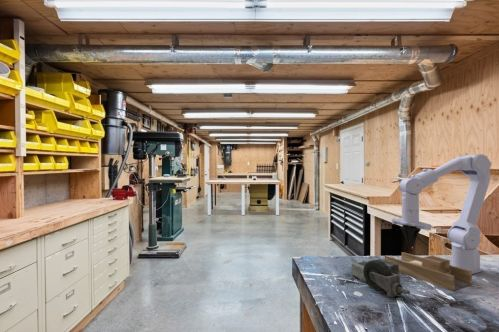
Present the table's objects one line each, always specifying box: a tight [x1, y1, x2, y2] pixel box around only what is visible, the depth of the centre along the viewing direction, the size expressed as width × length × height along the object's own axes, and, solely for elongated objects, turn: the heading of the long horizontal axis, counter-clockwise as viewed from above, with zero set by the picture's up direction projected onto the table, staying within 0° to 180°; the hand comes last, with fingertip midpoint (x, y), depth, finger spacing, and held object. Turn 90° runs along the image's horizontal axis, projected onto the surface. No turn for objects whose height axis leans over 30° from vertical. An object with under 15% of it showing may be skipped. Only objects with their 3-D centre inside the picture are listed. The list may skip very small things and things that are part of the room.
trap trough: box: [384, 252, 473, 292], centre depth 107 cm, size 11×25×4 cm, turn 27°
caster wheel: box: [363, 259, 410, 298], centre depth 92 cm, size 6×10×15 cm
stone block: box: [350, 258, 400, 284], centre depth 106 cm, size 9×14×5 cm, turn 109°
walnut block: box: [422, 255, 451, 273], centre depth 103 cm, size 6×6×4 cm
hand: (410, 245), depth 112 cm, fingers closed
